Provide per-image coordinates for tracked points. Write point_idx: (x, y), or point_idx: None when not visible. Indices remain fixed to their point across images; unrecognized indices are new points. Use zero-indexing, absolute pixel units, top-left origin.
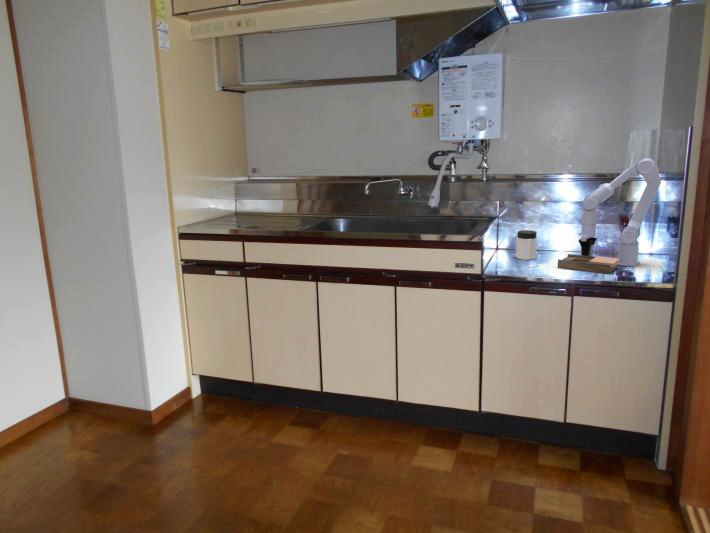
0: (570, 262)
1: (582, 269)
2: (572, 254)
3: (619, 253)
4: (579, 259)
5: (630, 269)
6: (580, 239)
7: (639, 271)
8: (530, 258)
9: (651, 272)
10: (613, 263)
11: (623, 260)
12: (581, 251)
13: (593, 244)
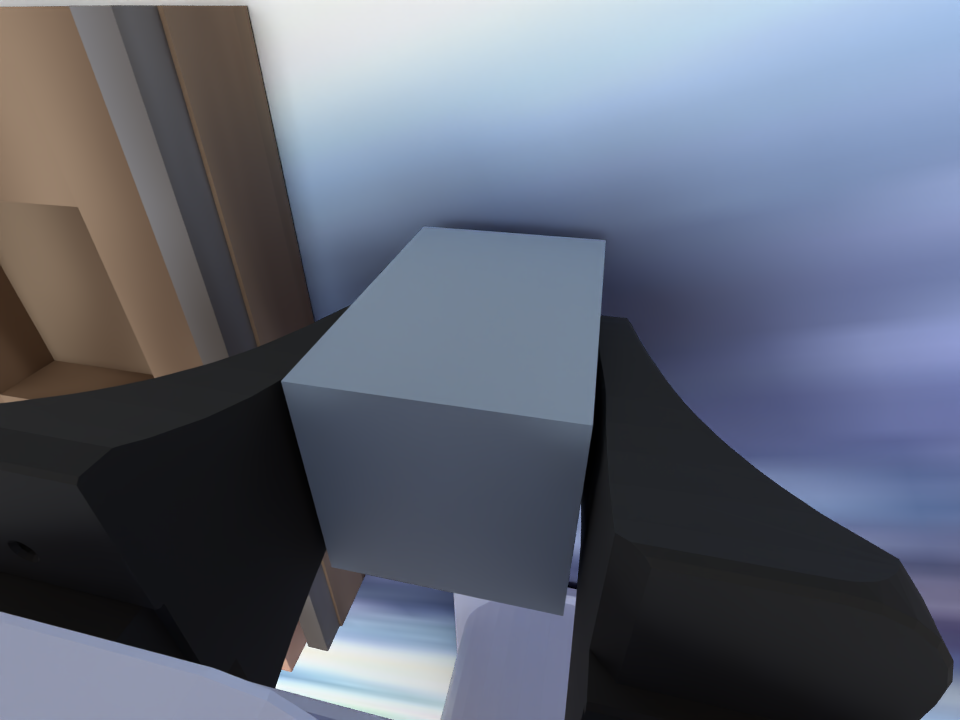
0: None
1: None
2: (134, 131)
3: (474, 715)
4: (117, 285)
5: (361, 627)
6: (21, 507)
7: (340, 657)
8: None
9: (362, 696)
10: None
11: (456, 659)
12: (367, 297)
13: (546, 611)
